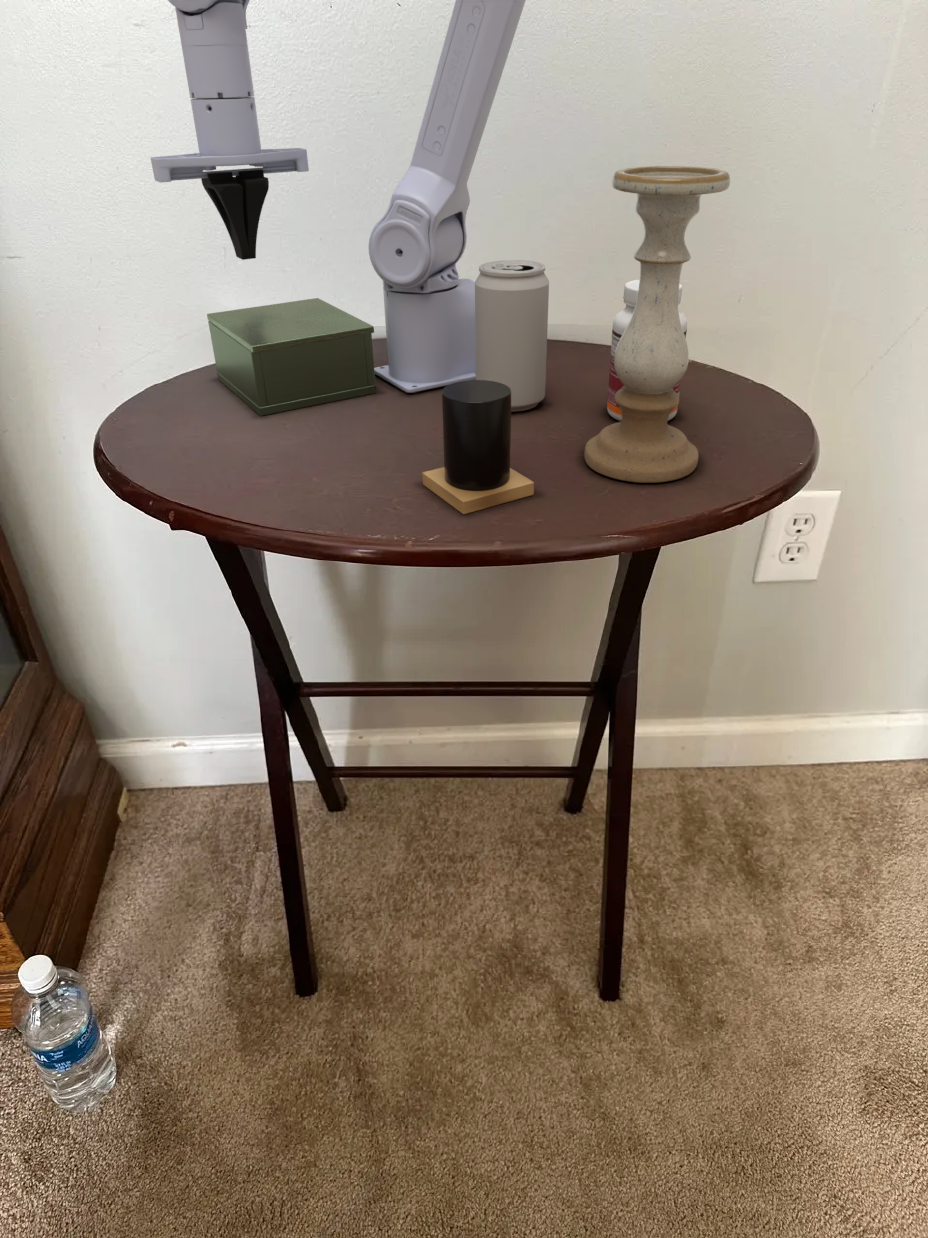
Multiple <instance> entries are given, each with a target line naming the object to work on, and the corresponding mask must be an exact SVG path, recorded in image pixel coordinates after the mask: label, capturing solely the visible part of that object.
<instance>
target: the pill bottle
mask: <svg viewBox="0 0 928 1238" xmlns="http://www.w3.org/2000/svg"><path fill="white" fill-rule="evenodd" d="M639 282H640V279H633V280H629V281H627V282H626V283H625V284H624V289H623V296H622V298H623V303H624V304H625V307H624V308H623V309H621V310H620V311H618V312H617V314H615V316H614V318H613V321H612V330H611V343H610V344H611V345H610V358H609V369H608V384H607V385H608V386H607V401H606V409H607V413H608V415H609V416H610V417H612V418H613V419H615V420H617V421H618V422H621V421H622V412H621V411H620V408H619V407H620V406H619V405H618V404H617V403H616V401H615V394H616V393H617V391H618V390H620V389H621V388H622V387H623V386H624V384H623V383H622V382H621V381H620V379H619V378H618V376H617V374H616V371H615V369H614V355H615V350H616V348H617V345H618V343H619V341H620V338H621V336H622V335H623V333H624V331H625V329H626V327H627V326H628V324H629V322H630V320H631V317H632V315H633V312H634V309H635V306H636V302H637V296H638V290H639ZM682 293H683V285H682V284H681V283H679V295H678V306H679V305H680V304H681V300H682ZM678 312H679V318H680V323H681V326H682V329H683V332H684V335H685V339H686V338H687V331H688V319H687V317H686V315H685V314H684V312H682V311H681V310H679V309H678ZM686 340H687V339H686ZM681 381H682V379H681V380H680V381H679V382H678V383H677V384H676V385H675V386H674V387H673V390H674V392H676V393H677V394H678V396H679V397H680V392H681V384H682V383H681ZM678 409H679V404H678V405H677V406H676V407H675V408H674V409H672V412H671V414H670V415H669V417H668V421H670V420H672V419H673V418H675V416H676V415H677V413H678Z"/></svg>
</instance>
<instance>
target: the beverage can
mask: <svg viewBox="0 0 928 1238" xmlns="http://www.w3.org/2000/svg"><path fill="white" fill-rule="evenodd" d="M478 271H479V274H478V276H477V277H476V279H475V281H474V282H475V354H476V380H488V381H494V382H499V383H502V384H505V385H507V386H508V387H509V388H510V389H511V413H513V412H523V411H528V410H531V409H534V408H535V407H536V406H538V404H539V403H540V402H542V401H543V400H544V398H545V396H546V380H547V355H548V354H547V353H548V351H547V349H548V328H549V327H548V325H549V323H548V322H549V298H550V297H549V296H550V280H549V278H548V277H547V275H546V274H545V271H546V264H544V263H541V262H539V261H533V260H525V259H503V260H495V261H488V262H484V263H481V264H480V265H479V266H478Z"/></svg>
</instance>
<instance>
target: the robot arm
mask: <svg viewBox="0 0 928 1238" xmlns="http://www.w3.org/2000/svg"><path fill="white" fill-rule="evenodd" d="M167 1H168V2H169V3H170V4H171V5H172V6H173V7H174V8H175V15H176V20H177V27H178V32H179V37H180V38H179V39H180V45H181V50H182V57H183V63H184V68H185V69H184V70H185V74H186V80H187V88H188V94H189V99H190V104H191V109H192V117H193V121H194V122H193V123H194V129H195V134H196V140H197V147H198V152H195V153H194V152H193V153H184V154H183V153H182V154H173V155H163V156H150V162H151V168H152V172H153V178H154V181H156V182H158V183H171V182H172V181H185V180H197V179H201V180H200V181H201V185H202V186H203V188H204V190H205V192H206V193H207V195H208V196H209V198H210V200H211V202H212V203H213V205H214V207H215V208H216V211H217V212H218V214H219V216H220V218H221V220H222V222H223V224H224V226H225V229H226V230H227V233H228V235H229V238H230V241H231V243H232V246H233V249H234V252H235V256H236V258H238V259H241V261H244V260H252V259H256V258H257V238H258V230H259V224H260V218H261V214H262V210H263V207H264V203H265V201H266V197H267V195H268V192H269V189H270V187H269V186H270V184H269V183H270V182H269V178H268V177H267V176H265V174H276V173H277V174H278V173H291V172H297V173H303V172H304V173H305V172H306V173H307V172H309V171H310V170H309V169H310V168H309V160H308V159H309V158H308V150H307V148H302V147H293V148H266V149H265V148H263V149H262V145H261V138H260V137H261V136H260V130H259V129H260V128H259V121H258V113H257V106H256V98H255V92H254V91H255V90H254V84H253V77H252V76H253V75H252V68H251V59H250V53H249V46H248V45H249V44H248V37H247V29H248V22H247V8H248V5H249V3H250V1H251V0H167ZM526 1H527V0H455V2H454V5H453V9H452V13H451V16H450V21H449V23H448V27H447V31H446V35H445V38H444V42H443V46H442V49H441V52H440V56H439V59H438V64H437V67H436V71H435V74H434V78H433V81H432V85H431V89H430V92H429V96H428V98H427V99H428V100H427V102H426V107H425V110H424V114H423V117H422V120H421V125H420V128H419V132H418V134H417V139H416V143H415V146H414V150H413V154H412V157H411V160H410V164H409V166H408V169H407V170H406V172H405V173H404V175H403V177H401V179H400V181H399V182H398V184H397V186H396V188H394V190H393V192H392V194H391V197H390V201H389V205H388V207H387V209H386V211H385V212H384V215H383V216H382V217H381V218H380V219H379V220H378V221H377V222H376V223H375V224H374V227H373V228H372V230H371V232H370V235H369V240H368V255H369V260H370V263H371V266H372V268H373V270H374V271H375V273H376V275H377V276H378V277H379V278H380V279H381V280H382V290H383V292H382V293H383V306H384V307H383V308H384V318H385V319H384V322H385V324H384V325H385V338H386V353H387V365H382V366H377V367H374V374H375V375H376V376H378V377H380V378H381V379H383V380H385V381H386V382H388V383H390V384H391V385H393V386H395V387H397V388H398V389H400V390H401V391H403V392H405V393H407V394H412V393H418V392H423V391H426V390H431V389H436V388H442V387H446V386H448V385H450V384H453V383H456V382H461V381H468V380H476V354H475V281H474V280H473V279H470V278H460V276H459V272H458V269H457V267H456V266H457V265H456V264H457V263H458V262H459V261H460V260H461V258H462V257H463V255H464V253H465V249H466V246H467V227H466V219H467V214H468V213H467V212H468V210H469V206H470V203H471V197H470V193H469V187H468V182H469V179H470V175H471V172H472V170H473V169H472V168H473V166H474V163H475V160H476V157H477V153H478V150H479V147H480V144H481V142H482V137H483V135H484V132H485V128H486V125H487V122H488V119H489V116H490V113H491V109H492V108H493V107H492V106H493V103H494V100H495V96H496V94H497V91H498V88H499V85H500V82H501V78H502V76H503V72H504V69H505V66H506V63H507V60H508V56H509V53H510V50H511V47H512V44H513V41H514V38H515V35H516V32H517V29H518V25H519V22H520V20H521V16H522V13H523V10H524V7H525V4H526ZM235 166H237V167H238V166H249V167H247V168H236V169H234V168H233V169H221V170H217V167H235Z"/></svg>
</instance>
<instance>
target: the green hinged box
mask: <svg viewBox="0 0 928 1238" xmlns="http://www.w3.org/2000/svg"><path fill="white" fill-rule="evenodd" d="M207 322H208V328H209V334H210V335H209V336H210V339H211V345H212V351H213V357H214V363H215V368H216V372H217V379H218V381H220V383H222V384H223V385H224V386H225V387H226V388H227V389H229V390H230V391H231V392H232V393H234V394H235V395H236V396H237V397H238V398H239V399H240V400H241V401H243V402H244V403H245V404H246V405H247V406H249V408H251V409H252V410H253V411H255V413H257V414H258V415H259V416H261V417H263V416H268V415H272V414H277V413H282V412H283V413H284V412H287V411H292V410H297V409H303V408H308V407H313V406H316V405H317V406H318V405H322V404H326V403H332V402H337V401H342V400H346V399H347V400H348V399H351V398H352V399H353V398H357V397H362V396H367V395H372V394H375V393H377V391H376V377H375V375H376V374H374V368H375V361H374V347H373V333H369V334H363V335H358V336H352V337H346V338H340V339H334V340H328V341H322V342H316V343H310V344H304V345H298V346H292V347H286V348H280V349H274V350H268V351H262V352H256V353H253V352H251V351H250V350H248V349H247V348H246V347H244V346H243V345H242V344H240V343H239V342H237V341H236V340H235V339H233V338H232V337H231V336H229V335H228V334H227V333H225V332H224V331H222V330H221V329H220V328H218V327H217V326H216V325H214V324H213V323H211V322H210V321H209V320H207Z"/></svg>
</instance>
